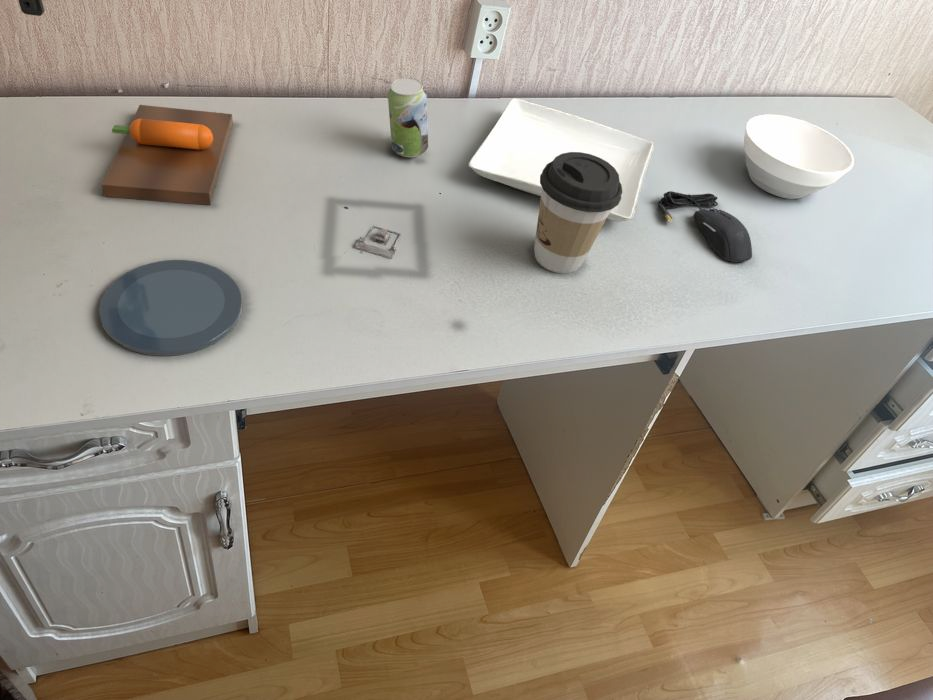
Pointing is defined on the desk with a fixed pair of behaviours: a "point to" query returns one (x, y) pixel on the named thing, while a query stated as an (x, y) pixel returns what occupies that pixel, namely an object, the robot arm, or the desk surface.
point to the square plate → (559, 150)
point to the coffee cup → (573, 208)
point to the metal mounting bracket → (379, 238)
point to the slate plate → (170, 307)
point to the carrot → (168, 133)
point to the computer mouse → (713, 225)
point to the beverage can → (408, 117)
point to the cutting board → (170, 161)
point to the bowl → (793, 156)
